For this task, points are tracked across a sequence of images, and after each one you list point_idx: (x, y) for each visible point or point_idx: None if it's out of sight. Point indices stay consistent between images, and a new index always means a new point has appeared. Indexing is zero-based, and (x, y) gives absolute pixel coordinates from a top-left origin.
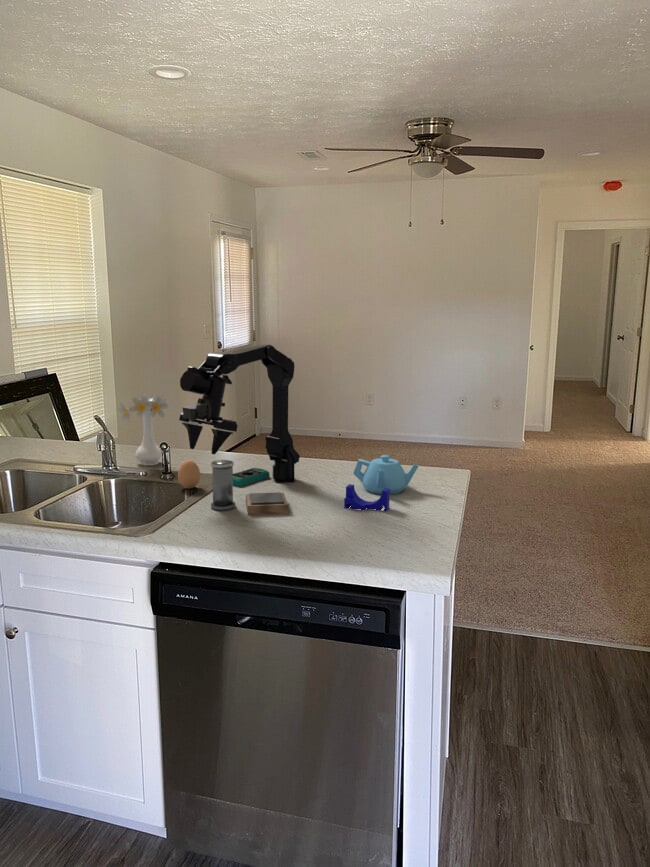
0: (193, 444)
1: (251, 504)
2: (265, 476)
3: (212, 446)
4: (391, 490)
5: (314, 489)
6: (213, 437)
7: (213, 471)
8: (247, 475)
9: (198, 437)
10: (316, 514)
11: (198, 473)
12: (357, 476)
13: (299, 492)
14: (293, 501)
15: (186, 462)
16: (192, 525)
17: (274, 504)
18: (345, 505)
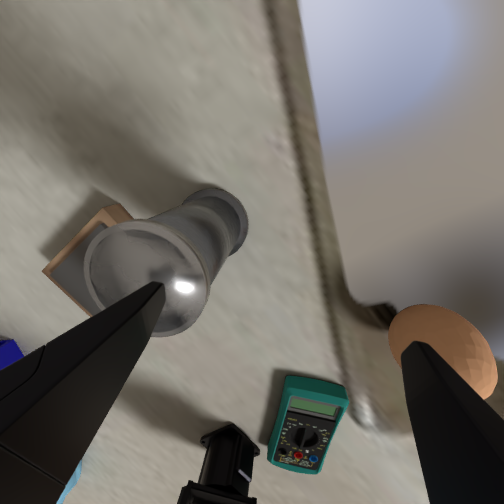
0: (421, 387)
1: (102, 223)
2: (270, 443)
3: (118, 319)
4: None
5: (137, 411)
6: (15, 412)
7: (178, 224)
8: (295, 426)
9: (430, 498)
10: (17, 284)
11: (398, 355)
12: None
13: (147, 387)
14: None
15: (473, 376)
16: (172, 19)
17: (63, 255)
18: (4, 344)
